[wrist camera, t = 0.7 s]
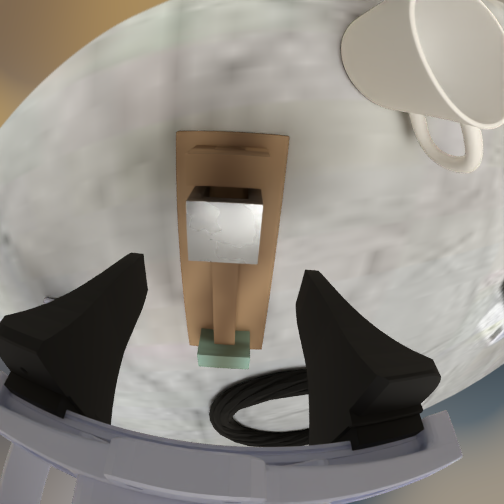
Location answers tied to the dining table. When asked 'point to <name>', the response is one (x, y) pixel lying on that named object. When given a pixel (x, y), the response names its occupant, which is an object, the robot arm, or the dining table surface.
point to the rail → (229, 274)
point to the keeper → (223, 227)
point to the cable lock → (255, 394)
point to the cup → (432, 68)
